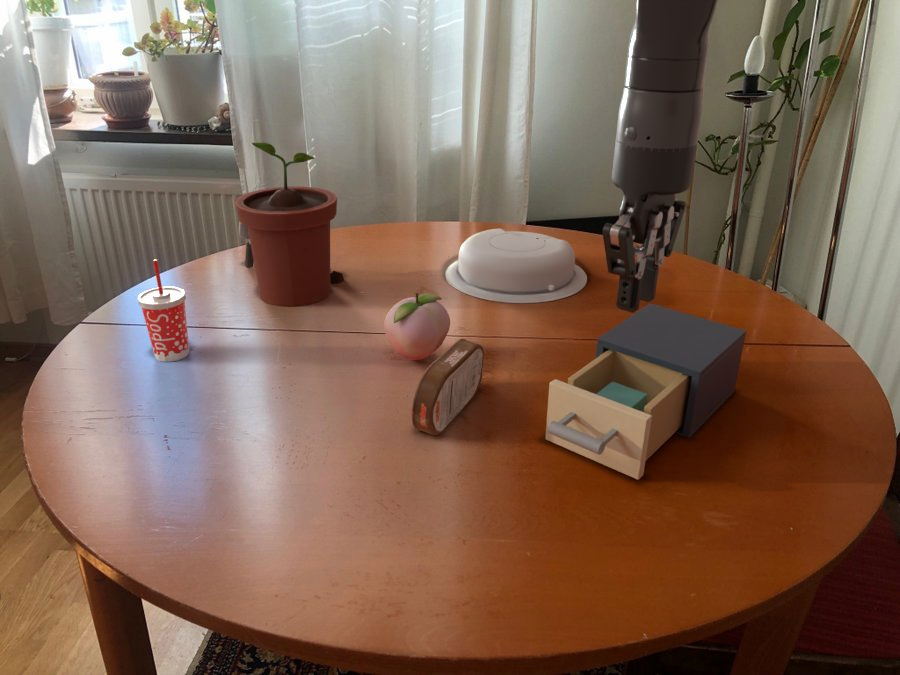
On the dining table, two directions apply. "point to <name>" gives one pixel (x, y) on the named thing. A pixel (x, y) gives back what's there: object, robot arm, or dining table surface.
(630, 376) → the drawer
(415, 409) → the tin
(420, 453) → the dining table surface
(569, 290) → the round ceiling alarm
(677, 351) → the cabinet
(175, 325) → the beverage cup
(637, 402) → the block
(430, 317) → the decorative fruit
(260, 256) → the potted plant
